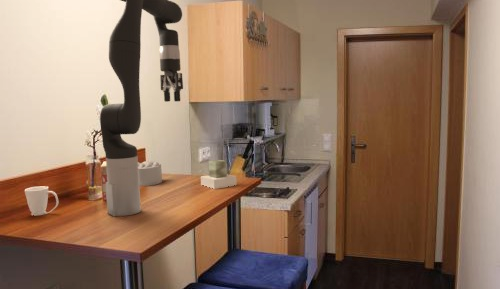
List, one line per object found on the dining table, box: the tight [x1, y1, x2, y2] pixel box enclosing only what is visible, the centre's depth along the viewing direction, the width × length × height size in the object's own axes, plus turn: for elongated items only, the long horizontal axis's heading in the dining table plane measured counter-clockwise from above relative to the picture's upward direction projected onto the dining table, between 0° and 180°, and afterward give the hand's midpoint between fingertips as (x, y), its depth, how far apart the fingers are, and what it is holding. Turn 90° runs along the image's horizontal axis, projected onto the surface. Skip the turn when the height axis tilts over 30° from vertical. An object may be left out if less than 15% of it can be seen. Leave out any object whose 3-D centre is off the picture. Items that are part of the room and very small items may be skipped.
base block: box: [200, 173, 237, 190], centre depth 175 cm, size 10×10×4 cm
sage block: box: [208, 159, 228, 178], centre depth 174 cm, size 5×5×6 cm
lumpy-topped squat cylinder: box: [138, 160, 163, 187], centre depth 185 cm, size 10×13×9 cm
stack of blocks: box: [100, 160, 108, 201], centre depth 166 cm, size 21×6×12 cm, turn 14°
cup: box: [24, 185, 59, 217], centre depth 139 cm, size 7×10×8 cm
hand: (172, 101), depth 172 cm, fingers open, 8 cm apart
